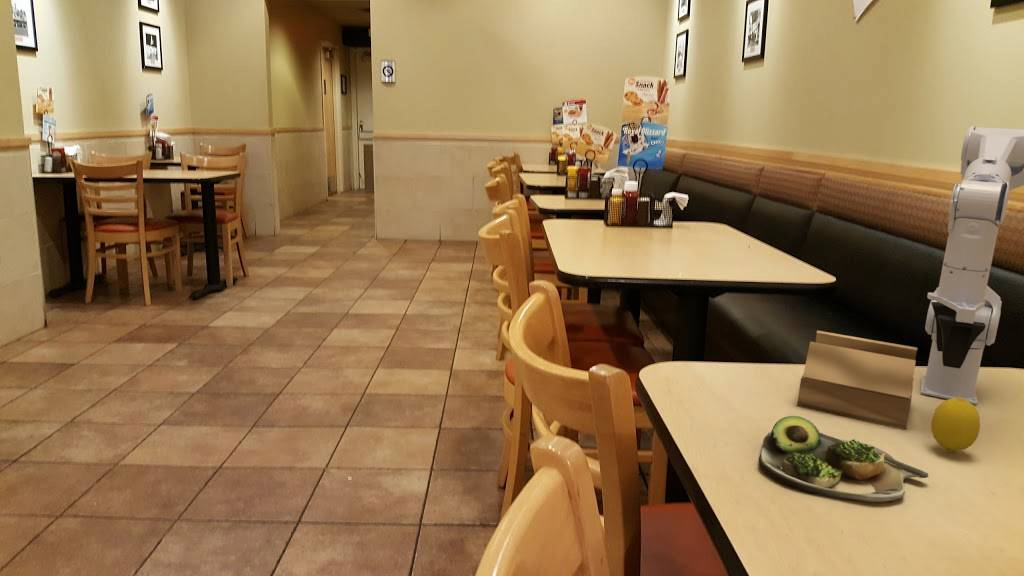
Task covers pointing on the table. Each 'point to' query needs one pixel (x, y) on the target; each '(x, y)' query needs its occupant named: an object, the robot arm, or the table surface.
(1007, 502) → the table surface
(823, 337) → the panel
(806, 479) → the avocado toast plate
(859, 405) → the carton
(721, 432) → the table surface
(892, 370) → the flap front
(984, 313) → the robot arm
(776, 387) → the table surface
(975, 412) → the lemon
